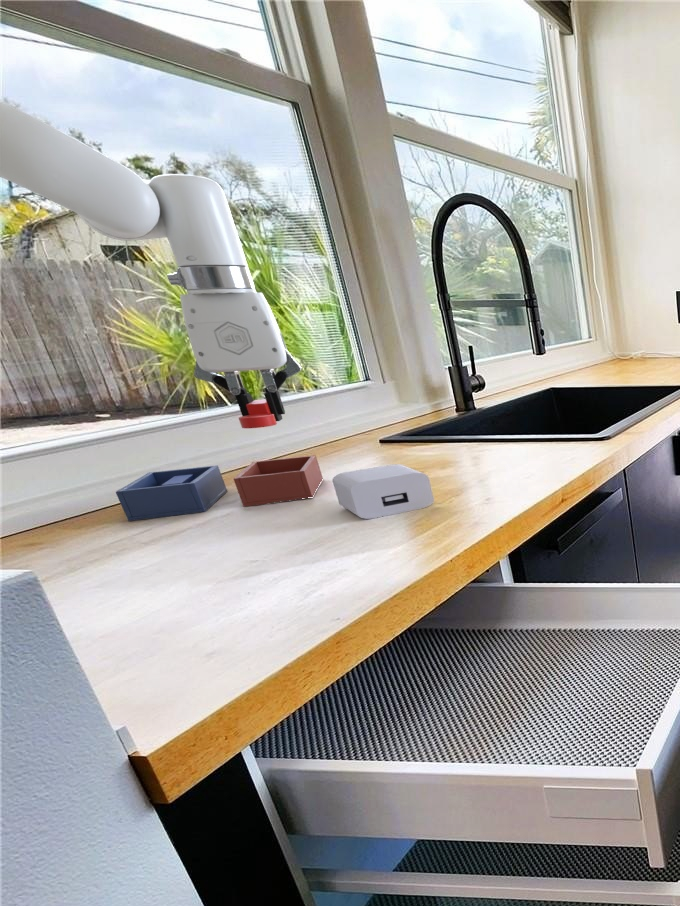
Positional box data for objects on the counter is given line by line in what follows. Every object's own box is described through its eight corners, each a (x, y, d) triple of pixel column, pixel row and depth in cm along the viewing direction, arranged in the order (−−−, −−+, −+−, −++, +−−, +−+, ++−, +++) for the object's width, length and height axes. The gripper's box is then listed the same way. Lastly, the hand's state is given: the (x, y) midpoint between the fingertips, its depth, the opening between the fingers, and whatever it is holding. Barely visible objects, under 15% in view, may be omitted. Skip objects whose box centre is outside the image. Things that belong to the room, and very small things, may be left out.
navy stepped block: (188, 507, 94) (180, 487, 93) (151, 512, 93) (143, 492, 92) (207, 491, 103) (200, 473, 102) (174, 495, 101) (166, 477, 100)
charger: (399, 488, 103) (435, 505, 93) (329, 501, 97) (359, 521, 87) (391, 457, 101) (427, 470, 91) (318, 468, 95) (348, 484, 85)
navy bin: (128, 521, 91) (115, 491, 89) (159, 499, 102) (148, 472, 100) (205, 511, 94) (194, 482, 93) (227, 491, 105) (218, 465, 103)
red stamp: (274, 426, 95) (267, 405, 94) (239, 429, 94) (231, 408, 93) (286, 417, 104) (280, 397, 103) (254, 419, 102) (247, 400, 101)
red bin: (243, 506, 96) (233, 478, 94) (261, 487, 107) (252, 461, 105) (312, 498, 99) (304, 470, 98) (323, 480, 110) (315, 455, 108)
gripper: (134, 283, 87) (191, 431, 94) (285, 279, 93) (327, 418, 101) (153, 285, 93) (205, 423, 100) (293, 281, 99) (333, 412, 107)
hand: (266, 420), depth 100 cm, fingers closed on red stamp, 2 cm apart
